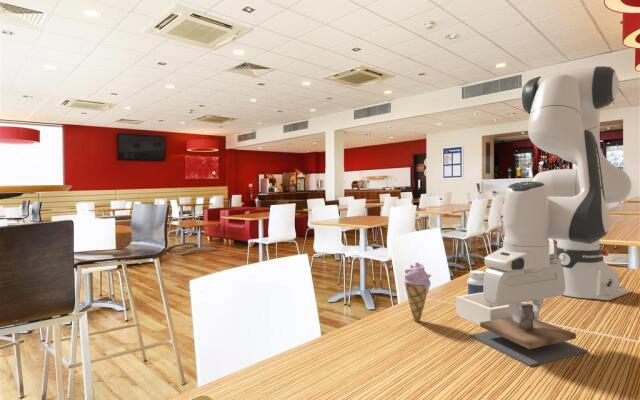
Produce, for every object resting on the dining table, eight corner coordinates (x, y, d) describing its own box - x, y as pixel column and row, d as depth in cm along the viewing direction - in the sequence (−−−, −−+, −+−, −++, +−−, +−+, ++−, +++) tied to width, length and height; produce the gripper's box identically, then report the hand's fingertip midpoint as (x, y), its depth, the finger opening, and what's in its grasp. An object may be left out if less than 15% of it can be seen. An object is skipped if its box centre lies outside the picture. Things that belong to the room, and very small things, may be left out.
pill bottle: (489, 308, 107) (489, 274, 107) (469, 307, 108) (469, 273, 108) (485, 302, 112) (485, 270, 112) (466, 302, 113) (465, 269, 113)
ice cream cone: (432, 318, 100) (431, 261, 100) (431, 326, 94) (430, 266, 94) (406, 316, 102) (405, 260, 102) (403, 324, 96) (403, 265, 96)
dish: (490, 308, 107) (490, 291, 107) (527, 322, 96) (527, 303, 95) (456, 314, 103) (455, 296, 102) (490, 330, 91) (490, 309, 91)
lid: (522, 318, 91) (522, 293, 91) (575, 338, 79) (576, 310, 79) (480, 326, 87) (480, 300, 87) (529, 349, 75) (529, 318, 75)
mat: (522, 326, 94) (522, 324, 94) (588, 352, 79) (588, 350, 79) (470, 336, 88) (470, 334, 88) (530, 366, 73) (530, 364, 73)
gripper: (547, 250, 89) (547, 309, 90) (478, 258, 82) (478, 322, 82) (573, 255, 83) (573, 317, 84) (501, 263, 76) (501, 332, 77)
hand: (525, 320), depth 83 cm, fingers closed on lid, 3 cm apart
